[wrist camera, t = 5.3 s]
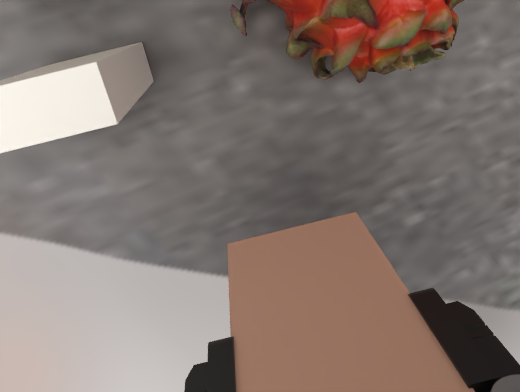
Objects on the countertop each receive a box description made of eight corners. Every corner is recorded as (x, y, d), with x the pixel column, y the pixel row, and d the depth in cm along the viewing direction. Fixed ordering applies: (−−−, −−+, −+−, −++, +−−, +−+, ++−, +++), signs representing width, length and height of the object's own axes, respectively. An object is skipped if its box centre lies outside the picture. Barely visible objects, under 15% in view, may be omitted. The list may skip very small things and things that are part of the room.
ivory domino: (44, 65, 24) (-61, 101, 15) (141, 41, 24) (96, 61, 15) (59, 104, 25) (-33, 161, 16) (154, 81, 25) (117, 124, 16)
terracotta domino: (227, 243, 18) (236, 486, 9) (356, 211, 18) (496, 423, 9) (240, 287, 19) (260, 553, 10) (364, 257, 19) (500, 495, 10)
